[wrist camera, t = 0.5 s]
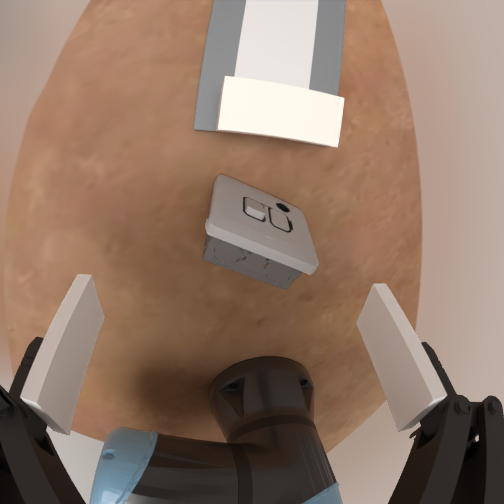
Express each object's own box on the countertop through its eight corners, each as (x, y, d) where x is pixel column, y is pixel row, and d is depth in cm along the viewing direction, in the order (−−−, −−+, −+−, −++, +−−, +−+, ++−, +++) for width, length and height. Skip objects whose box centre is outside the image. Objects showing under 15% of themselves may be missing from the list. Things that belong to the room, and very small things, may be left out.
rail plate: (325, 146, 27) (359, 152, 21) (194, 129, 25) (189, 127, 18) (342, -25, 19) (372, -51, 13) (226, -50, 17) (232, -86, 10)
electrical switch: (302, 209, 30) (333, 250, 22) (279, 250, 32) (299, 302, 23) (218, 171, 27) (217, 200, 19) (197, 217, 29) (189, 263, 21)
